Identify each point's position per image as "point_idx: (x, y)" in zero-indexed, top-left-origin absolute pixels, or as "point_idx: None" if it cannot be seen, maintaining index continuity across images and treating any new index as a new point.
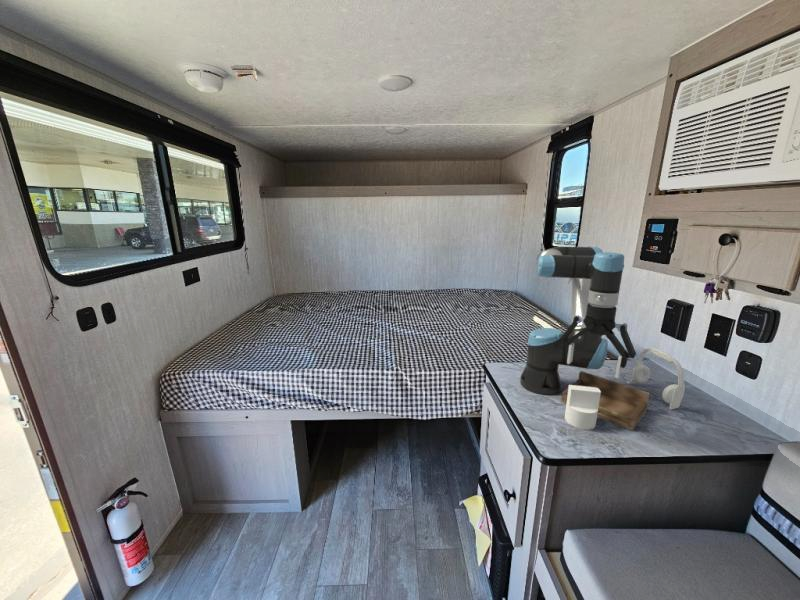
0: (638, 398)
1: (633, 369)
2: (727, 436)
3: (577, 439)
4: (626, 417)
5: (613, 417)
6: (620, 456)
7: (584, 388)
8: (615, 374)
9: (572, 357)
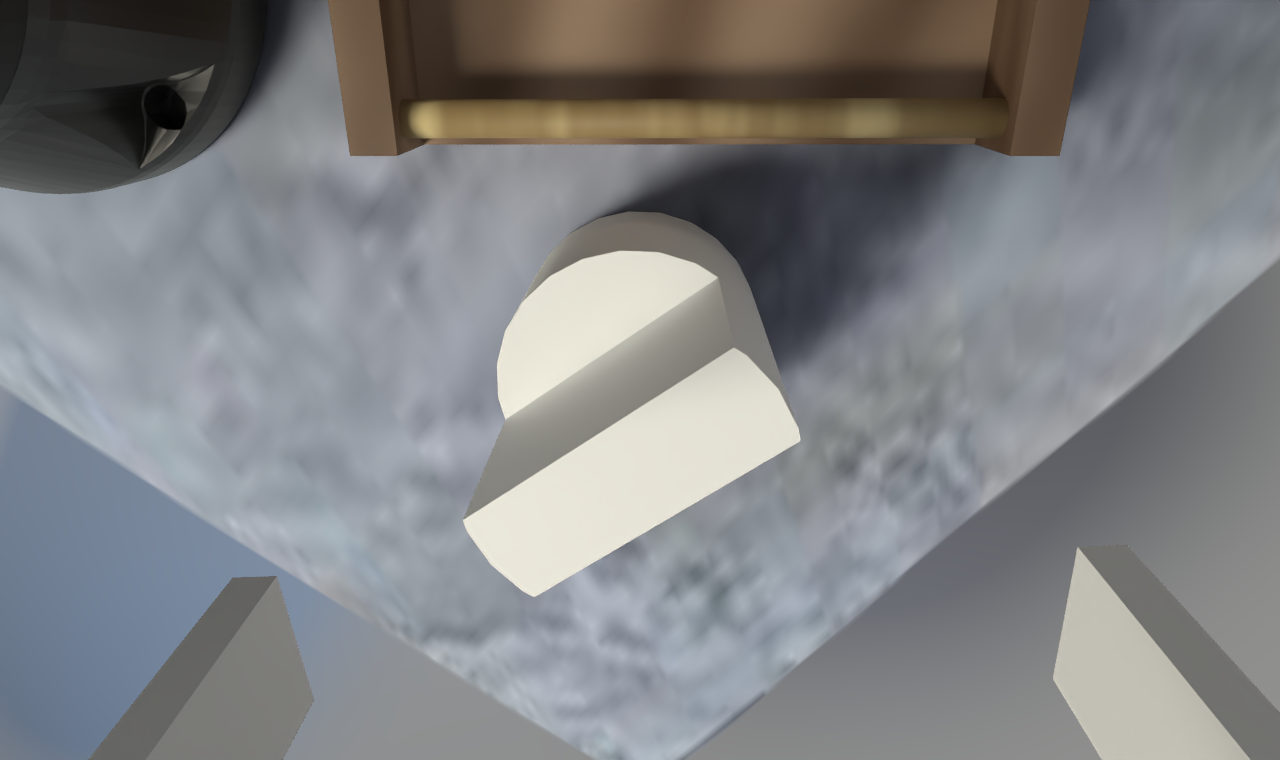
0: None
1: None
2: None
3: (712, 544)
4: (978, 131)
5: (849, 95)
6: (965, 519)
7: (627, 482)
8: (1080, 722)
9: (235, 653)
